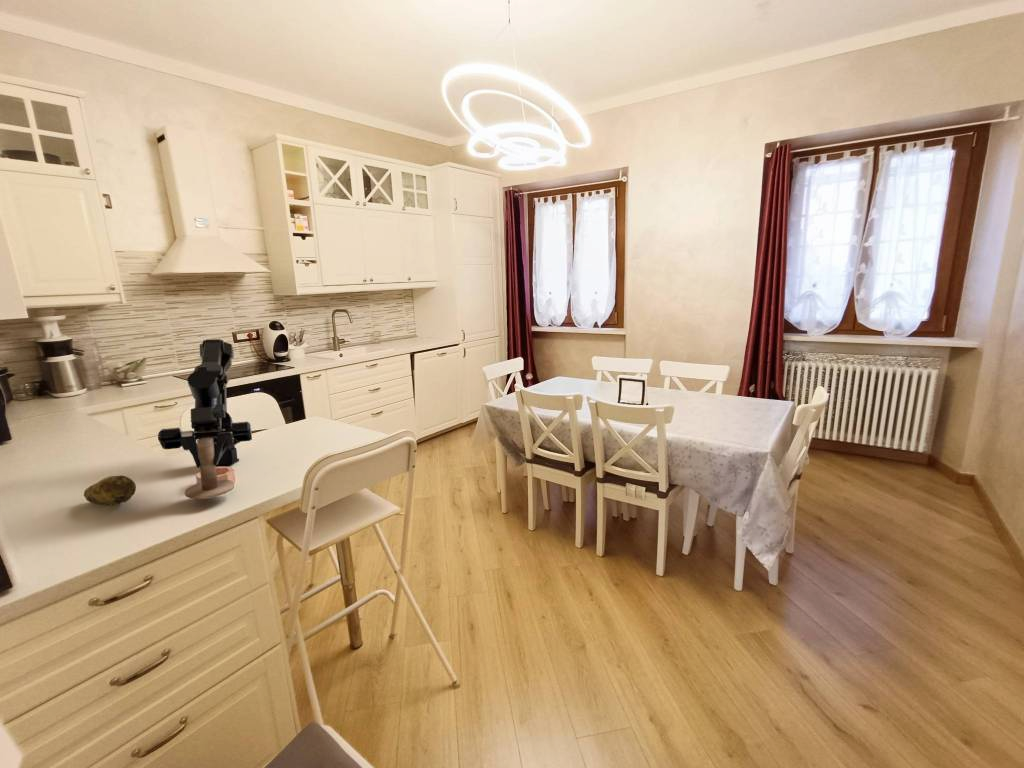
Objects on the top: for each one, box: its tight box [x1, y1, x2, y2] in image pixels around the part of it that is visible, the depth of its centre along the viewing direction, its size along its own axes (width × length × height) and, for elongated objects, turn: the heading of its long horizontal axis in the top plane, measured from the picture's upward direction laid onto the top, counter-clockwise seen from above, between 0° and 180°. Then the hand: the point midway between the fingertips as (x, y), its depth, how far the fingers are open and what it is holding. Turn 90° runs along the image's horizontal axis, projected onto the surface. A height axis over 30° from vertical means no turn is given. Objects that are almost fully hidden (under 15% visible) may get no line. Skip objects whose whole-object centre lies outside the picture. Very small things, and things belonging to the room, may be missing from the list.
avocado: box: [83, 474, 137, 506], centre depth 105 cm, size 8×13×8 cm, turn 51°
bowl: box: [195, 466, 236, 484], centre depth 119 cm, size 8×8×4 cm
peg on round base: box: [184, 438, 235, 500], centre depth 108 cm, size 10×10×13 cm
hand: (206, 466), depth 107 cm, fingers closed on peg on round base, 3 cm apart
